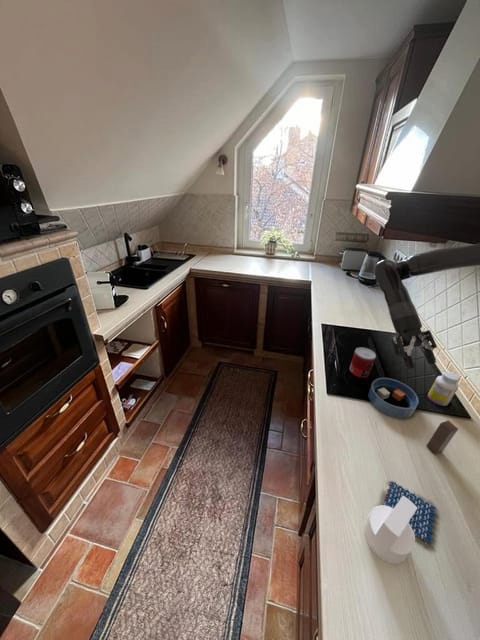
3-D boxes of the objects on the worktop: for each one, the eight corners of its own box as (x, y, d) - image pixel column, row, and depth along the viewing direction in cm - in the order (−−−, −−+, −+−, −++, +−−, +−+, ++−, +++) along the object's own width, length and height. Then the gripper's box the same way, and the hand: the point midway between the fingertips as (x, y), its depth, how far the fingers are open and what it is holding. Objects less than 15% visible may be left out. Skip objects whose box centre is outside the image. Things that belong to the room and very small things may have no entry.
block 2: (403, 399, 96) (406, 393, 94) (398, 402, 94) (401, 396, 93) (395, 394, 98) (398, 388, 96) (390, 396, 97) (393, 391, 95)
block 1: (387, 398, 96) (390, 393, 94) (381, 400, 95) (384, 394, 93) (381, 393, 98) (383, 387, 97) (375, 395, 97) (377, 389, 96)
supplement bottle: (438, 394, 99) (453, 368, 93) (451, 407, 94) (468, 381, 87) (422, 394, 99) (435, 369, 92) (434, 408, 93) (449, 382, 87)
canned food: (363, 382, 104) (371, 361, 98) (345, 372, 109) (351, 351, 103) (371, 374, 108) (379, 353, 103) (353, 364, 114) (360, 344, 108)
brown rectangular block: (431, 445, 80) (448, 420, 74) (440, 454, 77) (458, 428, 72) (424, 448, 79) (440, 422, 73) (433, 457, 77) (450, 431, 71)
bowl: (411, 396, 98) (416, 386, 95) (414, 426, 86) (420, 415, 83) (368, 383, 104) (372, 373, 101) (366, 409, 92) (370, 398, 89)
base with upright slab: (374, 508, 64) (389, 483, 58) (412, 545, 58) (433, 520, 52) (354, 534, 60) (369, 509, 54) (393, 577, 53) (414, 554, 47)
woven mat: (388, 481, 70) (390, 477, 69) (433, 509, 64) (436, 505, 63) (378, 514, 63) (380, 511, 62) (428, 549, 57) (431, 546, 56)
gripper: (396, 316, 78) (415, 368, 74) (431, 310, 82) (450, 360, 78) (378, 322, 85) (394, 371, 81) (411, 317, 89) (428, 363, 85)
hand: (422, 365), depth 79 cm, fingers open, 8 cm apart
